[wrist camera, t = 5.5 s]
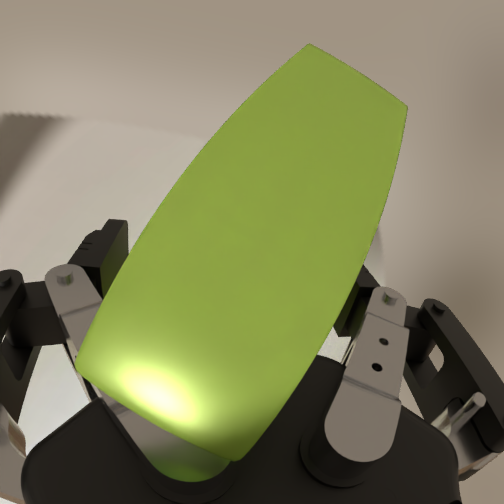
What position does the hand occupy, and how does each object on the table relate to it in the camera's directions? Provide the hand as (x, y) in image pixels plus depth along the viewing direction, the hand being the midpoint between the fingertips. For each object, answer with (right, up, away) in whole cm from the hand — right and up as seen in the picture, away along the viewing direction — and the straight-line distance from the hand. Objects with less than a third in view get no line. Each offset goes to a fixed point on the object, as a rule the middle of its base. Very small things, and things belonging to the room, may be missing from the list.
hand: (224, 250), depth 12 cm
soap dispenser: (-2, -4, +10) cm, 11 cm away
